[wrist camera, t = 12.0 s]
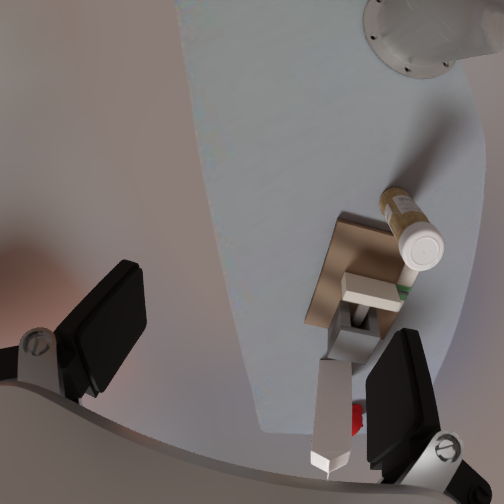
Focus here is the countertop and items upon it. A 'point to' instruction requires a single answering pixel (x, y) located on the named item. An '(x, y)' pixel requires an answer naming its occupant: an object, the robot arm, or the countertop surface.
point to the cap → (356, 418)
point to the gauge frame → (341, 312)
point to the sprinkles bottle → (411, 230)
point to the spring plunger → (369, 295)
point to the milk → (332, 416)
